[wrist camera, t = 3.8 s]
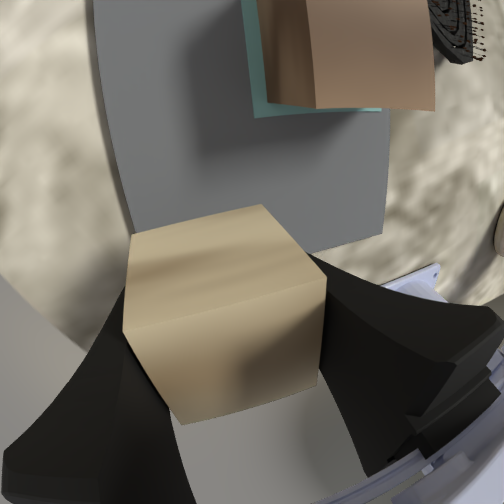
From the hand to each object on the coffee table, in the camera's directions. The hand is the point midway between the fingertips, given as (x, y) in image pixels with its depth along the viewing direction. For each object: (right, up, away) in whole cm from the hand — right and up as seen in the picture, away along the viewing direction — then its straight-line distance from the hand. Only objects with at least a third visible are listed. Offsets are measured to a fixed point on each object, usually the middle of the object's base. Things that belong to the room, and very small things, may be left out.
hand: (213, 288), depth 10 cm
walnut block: (+4, +10, 0) cm, 11 cm away
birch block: (0, 0, +1) cm, 1 cm away
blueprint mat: (+2, +7, +2) cm, 8 cm away
